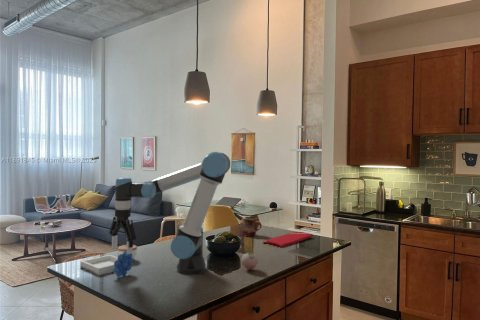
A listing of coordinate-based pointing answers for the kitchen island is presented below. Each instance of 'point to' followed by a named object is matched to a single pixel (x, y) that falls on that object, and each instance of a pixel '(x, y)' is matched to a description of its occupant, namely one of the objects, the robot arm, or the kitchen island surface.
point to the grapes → (123, 264)
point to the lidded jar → (124, 248)
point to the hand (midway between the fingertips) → (121, 251)
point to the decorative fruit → (249, 260)
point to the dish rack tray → (99, 264)
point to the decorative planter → (249, 226)
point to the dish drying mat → (288, 239)
